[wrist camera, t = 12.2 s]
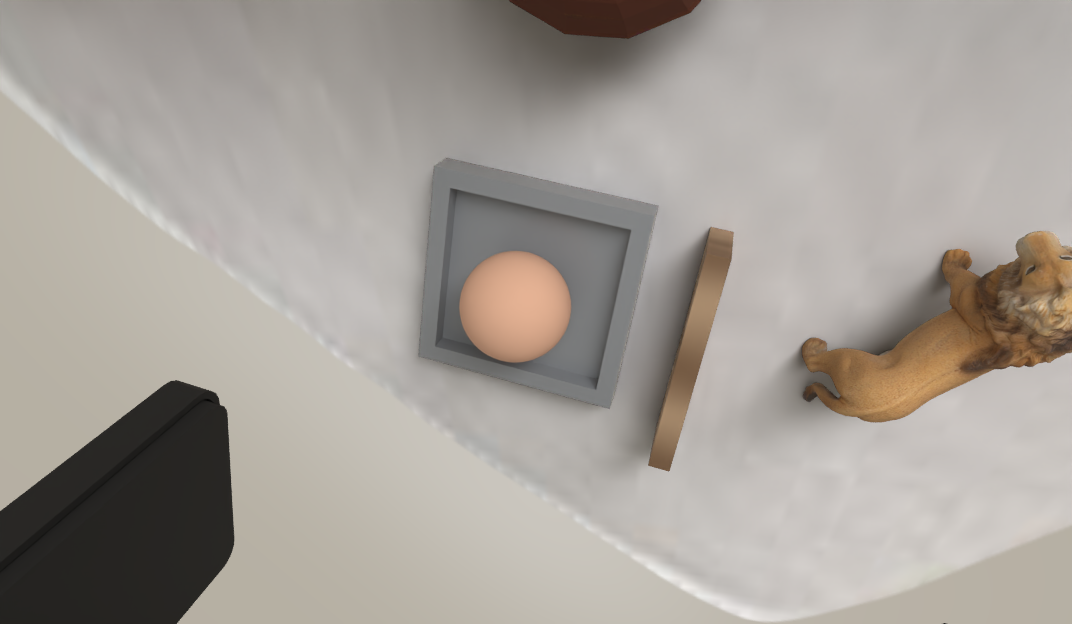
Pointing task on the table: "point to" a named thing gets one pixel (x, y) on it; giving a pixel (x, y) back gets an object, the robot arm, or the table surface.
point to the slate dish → (555, 235)
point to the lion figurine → (959, 335)
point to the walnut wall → (692, 346)
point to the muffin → (606, 15)
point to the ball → (515, 306)
